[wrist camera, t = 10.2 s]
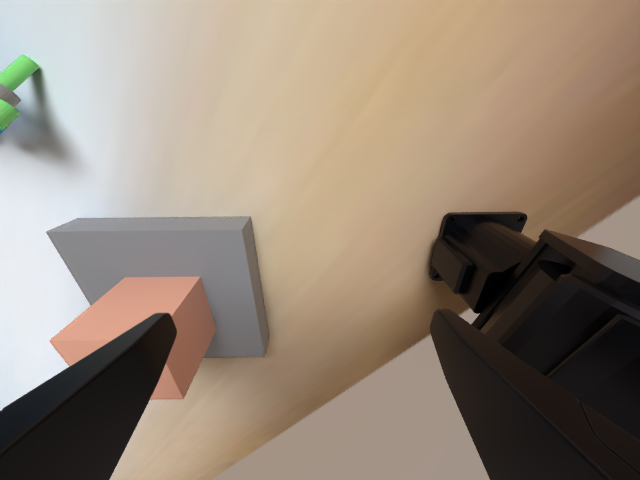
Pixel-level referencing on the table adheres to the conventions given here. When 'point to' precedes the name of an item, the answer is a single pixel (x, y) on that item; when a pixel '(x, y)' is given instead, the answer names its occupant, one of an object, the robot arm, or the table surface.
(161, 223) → the plinth
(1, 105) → the blue spiky toy
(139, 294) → the salmon pink cube
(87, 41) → the table surface
